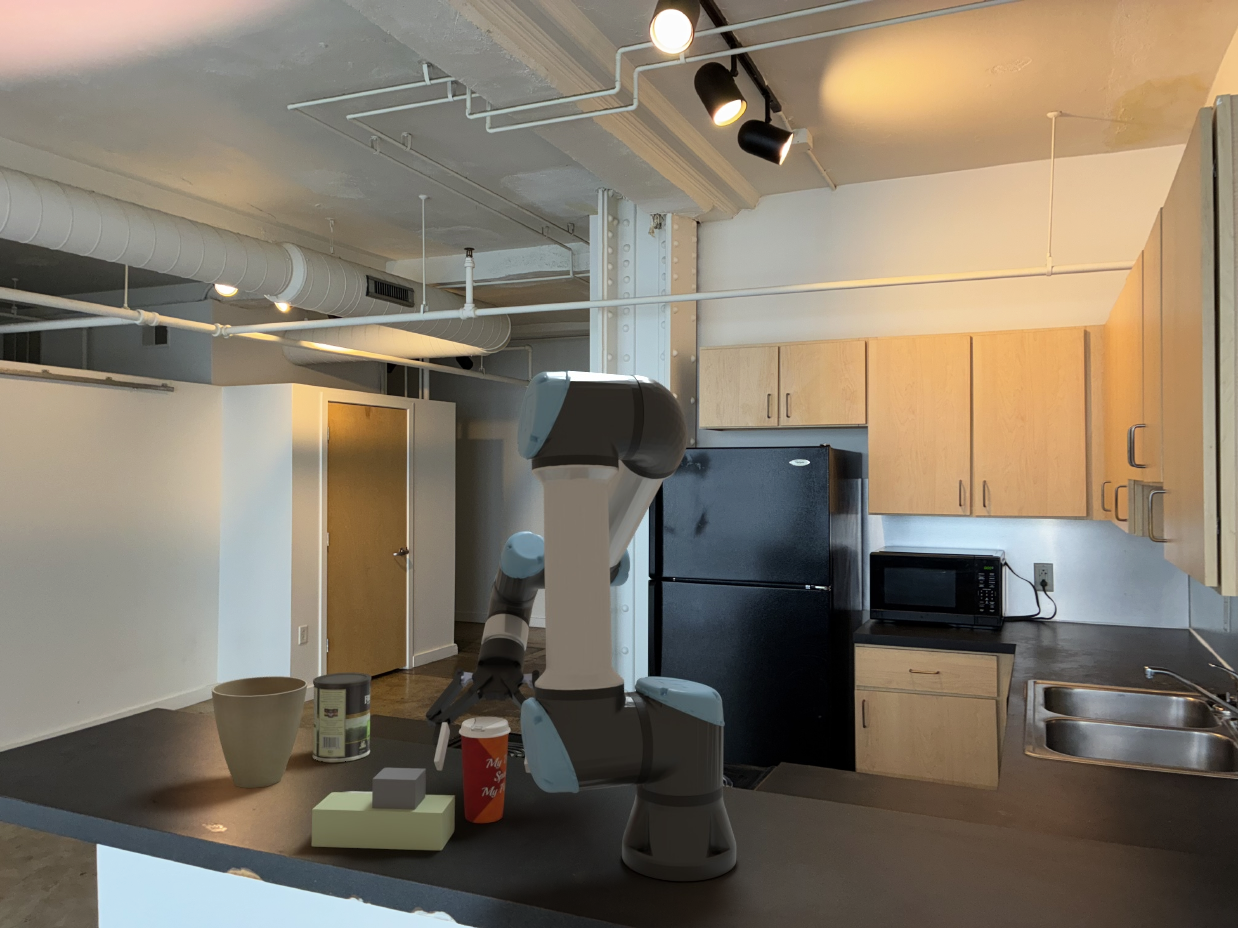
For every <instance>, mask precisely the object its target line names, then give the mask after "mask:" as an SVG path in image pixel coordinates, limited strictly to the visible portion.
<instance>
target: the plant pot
mask: <svg viewBox="0 0 1238 928" xmlns="http://www.w3.org/2000/svg"><path fill="white" fill-rule="evenodd" d="M307 689H308V682H307V680H304V679H303V678H299V677H293V676H278V675H277V676H276V675H274V676H272V675H271V676H255V677H253V676H252V677H246V678H239V679H234V680H233V679H232V680H227V681H223V682H221V683H220V682H219V683H218V684H216V685H214V686H213V687H211V696H212V698H211V699H212V704H213V712H214V719H215V724H216V730H217V734H218V738H219V742H220V747H221V750H222V753H223V757H224V759H225V762H226V765H227V767H228V768H227V769H228V772H229V774H230V777H231V779H232V781H233V784H234V785H235V786H236V787H239V788H243V789H249V788H250V789H256V788H257V789H258V788H264V787H269V786H271V785H275V784H277V783H279V782H280V781H281V780H282V779H283V776H284V774H285V771H286V768H287V765H288V763H289V760H290V757H291V755H292V752H293V749H294V746H295V743H296V739H297V735H298V732H299V728H300V725H301V721H302V717H303V710H304V706H305V701H306V694H307Z"/></svg>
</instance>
